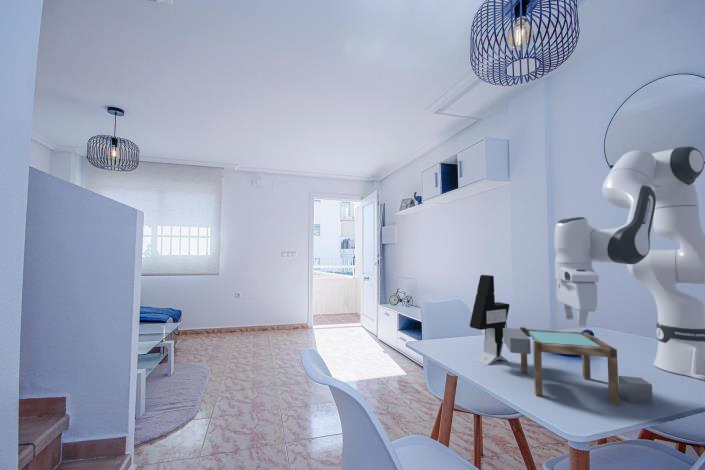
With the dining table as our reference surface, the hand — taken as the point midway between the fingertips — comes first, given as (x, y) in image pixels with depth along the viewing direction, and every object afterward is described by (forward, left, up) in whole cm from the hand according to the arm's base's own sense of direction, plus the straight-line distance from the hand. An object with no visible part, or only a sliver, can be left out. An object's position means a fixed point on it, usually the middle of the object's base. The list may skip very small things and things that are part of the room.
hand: (575, 322), depth 93 cm
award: (+21, -18, -18) cm, 33 cm away
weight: (-12, +4, -18) cm, 22 cm away
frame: (+4, 0, -18) cm, 18 cm away
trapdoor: (+7, 0, -8) cm, 11 cm away
